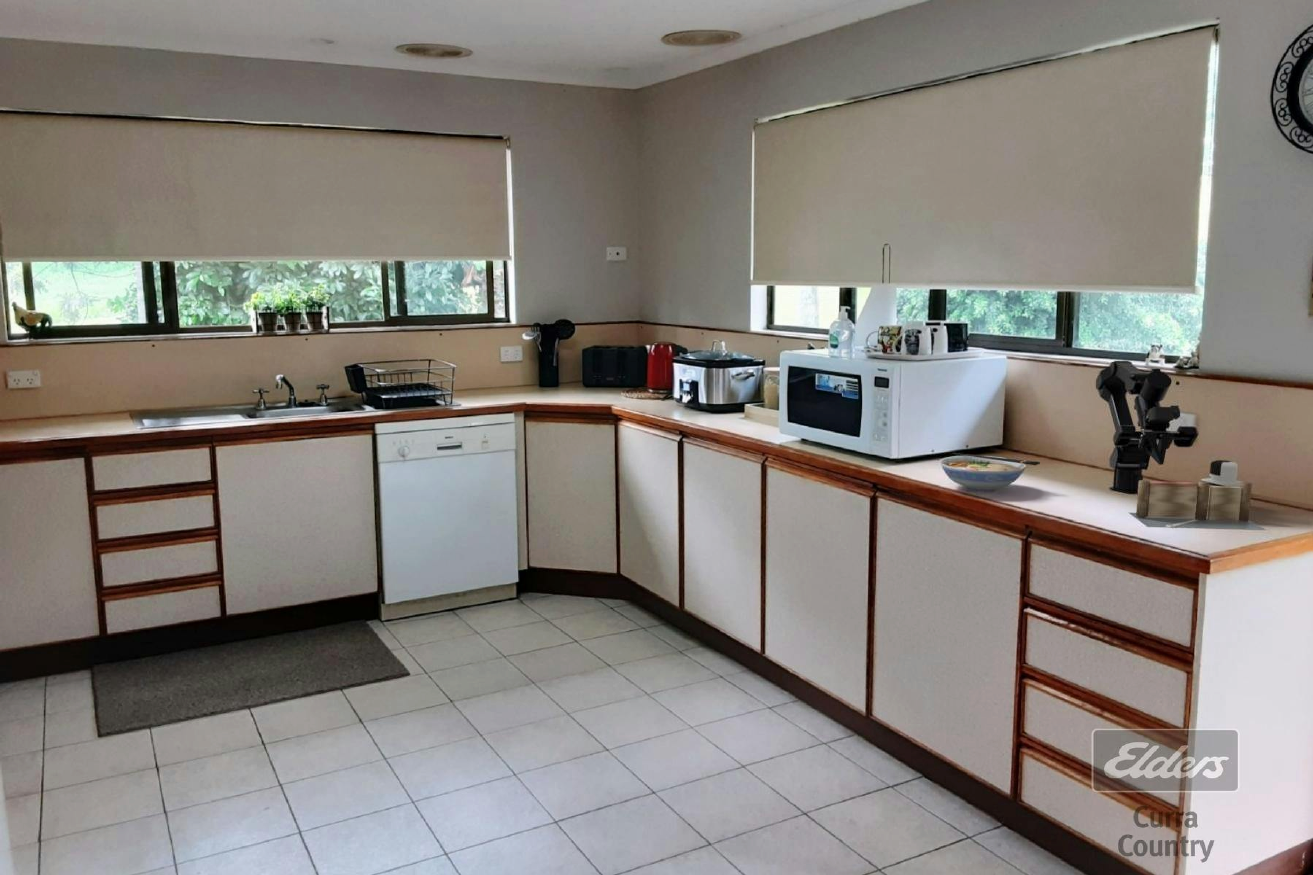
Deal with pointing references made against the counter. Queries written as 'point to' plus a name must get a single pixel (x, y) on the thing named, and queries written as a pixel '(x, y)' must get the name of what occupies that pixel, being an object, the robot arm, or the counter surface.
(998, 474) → the ramen bowl
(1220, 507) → the fence fixed
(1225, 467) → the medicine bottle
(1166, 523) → the card
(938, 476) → the counter surface
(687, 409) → the counter surface
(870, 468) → the counter surface
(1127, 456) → the robot arm
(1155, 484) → the fence gate
